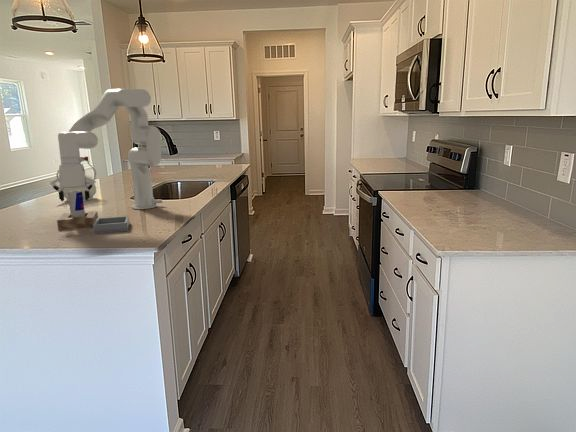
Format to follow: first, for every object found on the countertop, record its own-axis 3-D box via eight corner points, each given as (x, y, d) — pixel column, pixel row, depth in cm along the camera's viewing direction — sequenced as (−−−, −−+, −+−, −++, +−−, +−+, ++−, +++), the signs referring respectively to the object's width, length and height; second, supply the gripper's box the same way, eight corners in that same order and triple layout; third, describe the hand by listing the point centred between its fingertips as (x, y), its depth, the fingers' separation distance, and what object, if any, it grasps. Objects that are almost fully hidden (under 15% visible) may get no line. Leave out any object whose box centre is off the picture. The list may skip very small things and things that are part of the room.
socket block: (98, 219, 188) (97, 211, 187) (94, 226, 175) (93, 217, 174) (64, 221, 184) (63, 213, 183) (58, 229, 171) (56, 220, 170)
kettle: (91, 195, 251) (86, 155, 245) (105, 198, 239) (101, 156, 233) (48, 201, 232) (41, 158, 226) (61, 205, 220) (55, 159, 215)
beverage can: (80, 226, 176) (75, 192, 173) (69, 225, 177) (64, 191, 174) (88, 222, 182) (84, 190, 178) (78, 222, 183) (73, 189, 179)
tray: (129, 223, 180) (128, 215, 179) (127, 230, 168) (127, 222, 167) (98, 225, 176) (97, 218, 175) (93, 233, 164) (92, 225, 163)
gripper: (93, 160, 179) (97, 198, 183) (50, 160, 174) (54, 199, 177) (91, 161, 172) (95, 200, 176) (45, 162, 167) (50, 202, 170)
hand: (74, 200), depth 176 cm, fingers open, 9 cm apart
